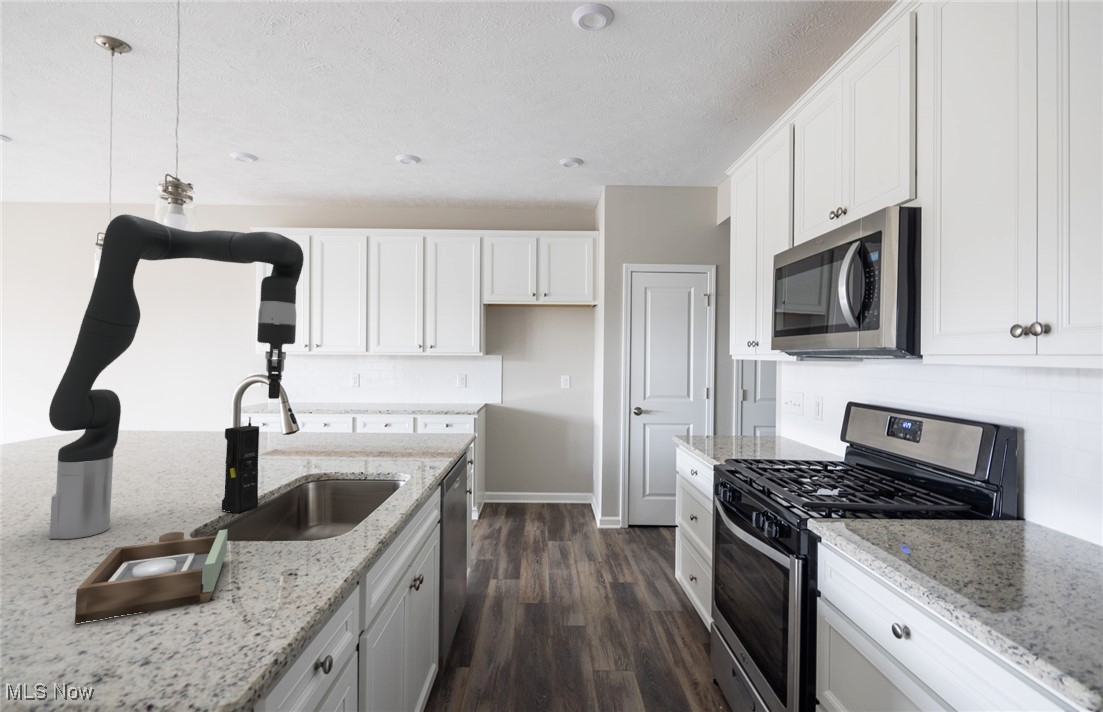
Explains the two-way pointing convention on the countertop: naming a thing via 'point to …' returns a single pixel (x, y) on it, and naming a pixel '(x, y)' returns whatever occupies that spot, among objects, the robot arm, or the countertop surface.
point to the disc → (154, 568)
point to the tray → (189, 563)
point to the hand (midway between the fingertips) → (273, 398)
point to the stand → (171, 536)
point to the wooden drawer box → (142, 582)
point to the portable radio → (241, 468)
